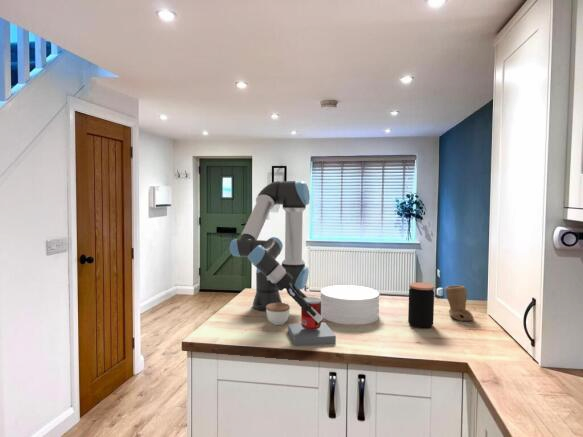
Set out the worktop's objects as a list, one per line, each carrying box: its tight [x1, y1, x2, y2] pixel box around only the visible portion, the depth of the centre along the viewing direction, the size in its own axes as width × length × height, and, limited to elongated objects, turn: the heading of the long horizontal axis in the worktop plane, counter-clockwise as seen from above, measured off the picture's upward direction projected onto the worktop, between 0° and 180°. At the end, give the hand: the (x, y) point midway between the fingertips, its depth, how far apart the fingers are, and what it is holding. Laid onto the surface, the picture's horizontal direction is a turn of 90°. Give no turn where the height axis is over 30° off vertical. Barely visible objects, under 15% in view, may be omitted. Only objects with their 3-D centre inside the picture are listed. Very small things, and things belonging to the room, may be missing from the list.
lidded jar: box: [265, 302, 291, 326], centre depth 166 cm, size 11×11×9 cm
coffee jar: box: [407, 282, 435, 329], centre depth 165 cm, size 11×11×18 cm
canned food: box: [300, 296, 322, 329], centre depth 149 cm, size 8×8×11 cm
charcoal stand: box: [287, 321, 337, 347], centre depth 150 cm, size 16×16×3 cm
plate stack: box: [320, 284, 380, 326], centre depth 179 cm, size 28×28×12 cm
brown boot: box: [444, 284, 475, 322], centre depth 177 cm, size 15×12×15 cm
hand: (319, 317), depth 150 cm, fingers closed on canned food, 8 cm apart
